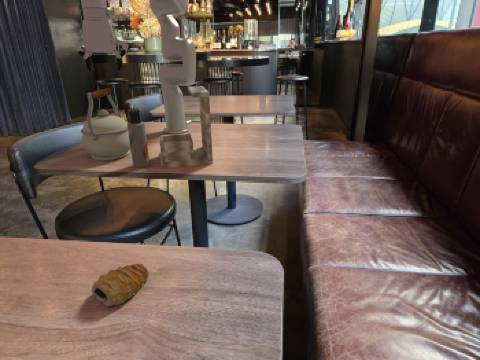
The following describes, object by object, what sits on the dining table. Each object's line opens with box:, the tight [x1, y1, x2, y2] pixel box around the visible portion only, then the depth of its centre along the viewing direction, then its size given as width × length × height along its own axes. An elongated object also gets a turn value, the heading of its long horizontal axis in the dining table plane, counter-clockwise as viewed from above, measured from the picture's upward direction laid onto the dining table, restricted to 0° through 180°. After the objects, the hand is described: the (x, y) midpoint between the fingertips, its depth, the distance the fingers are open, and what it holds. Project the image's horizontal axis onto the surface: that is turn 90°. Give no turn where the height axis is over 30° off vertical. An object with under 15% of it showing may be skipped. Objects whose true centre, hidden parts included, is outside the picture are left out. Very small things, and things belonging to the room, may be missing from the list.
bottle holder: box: [159, 85, 214, 169], centre depth 114 cm, size 18×18×25 cm
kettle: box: [80, 87, 131, 161], centre depth 121 cm, size 25×18×25 cm
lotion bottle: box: [127, 107, 151, 169], centre depth 109 cm, size 6×6×20 cm
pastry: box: [90, 263, 149, 307], centre depth 55 cm, size 9×7×4 cm
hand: (106, 71), depth 109 cm, fingers open, 9 cm apart
